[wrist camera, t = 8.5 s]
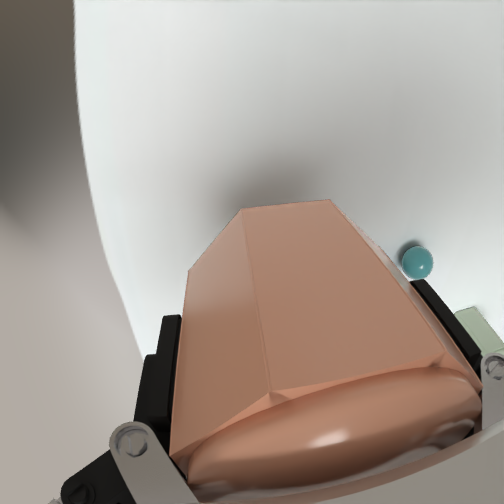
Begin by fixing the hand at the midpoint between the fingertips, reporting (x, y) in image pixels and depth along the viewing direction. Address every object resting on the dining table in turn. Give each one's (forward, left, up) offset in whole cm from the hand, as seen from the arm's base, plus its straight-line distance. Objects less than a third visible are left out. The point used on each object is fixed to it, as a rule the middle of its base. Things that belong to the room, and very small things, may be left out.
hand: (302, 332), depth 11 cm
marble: (-14, +8, -12) cm, 20 cm away
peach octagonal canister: (0, 0, -2) cm, 2 cm away
